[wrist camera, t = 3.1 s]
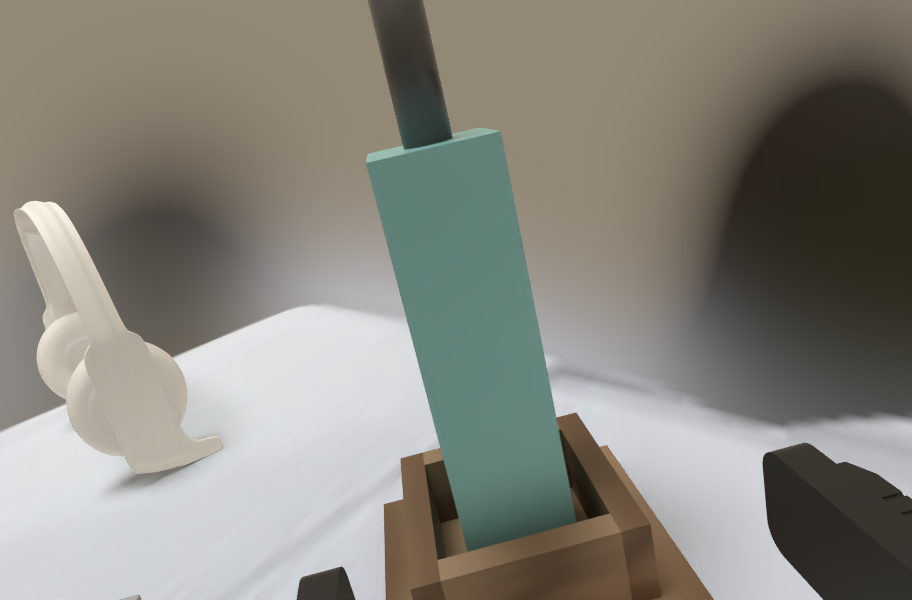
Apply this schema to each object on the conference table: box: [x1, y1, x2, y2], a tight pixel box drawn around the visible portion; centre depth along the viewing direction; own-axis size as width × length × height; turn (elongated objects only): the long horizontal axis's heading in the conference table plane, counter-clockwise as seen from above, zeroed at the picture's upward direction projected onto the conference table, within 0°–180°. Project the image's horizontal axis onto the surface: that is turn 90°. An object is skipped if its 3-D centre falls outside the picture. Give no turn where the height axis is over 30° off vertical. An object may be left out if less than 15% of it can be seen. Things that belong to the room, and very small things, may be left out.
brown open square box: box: [384, 413, 714, 600], centre depth 25 cm, size 11×11×4 cm
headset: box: [14, 201, 223, 474], centre depth 44 cm, size 20×7×18 cm, turn 41°
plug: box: [366, 0, 576, 552], centre depth 22 cm, size 4×4×22 cm
